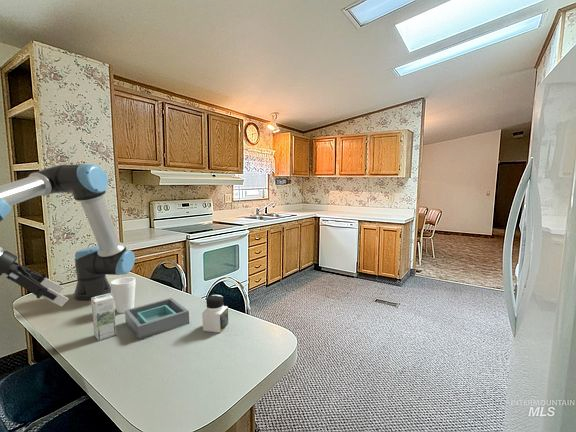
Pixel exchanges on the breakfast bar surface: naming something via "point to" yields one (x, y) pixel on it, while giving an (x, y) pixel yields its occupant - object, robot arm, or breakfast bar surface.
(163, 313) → the walled box
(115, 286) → the foam cup
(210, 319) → the medicine bottle
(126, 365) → the breakfast bar surface
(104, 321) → the syrup box
